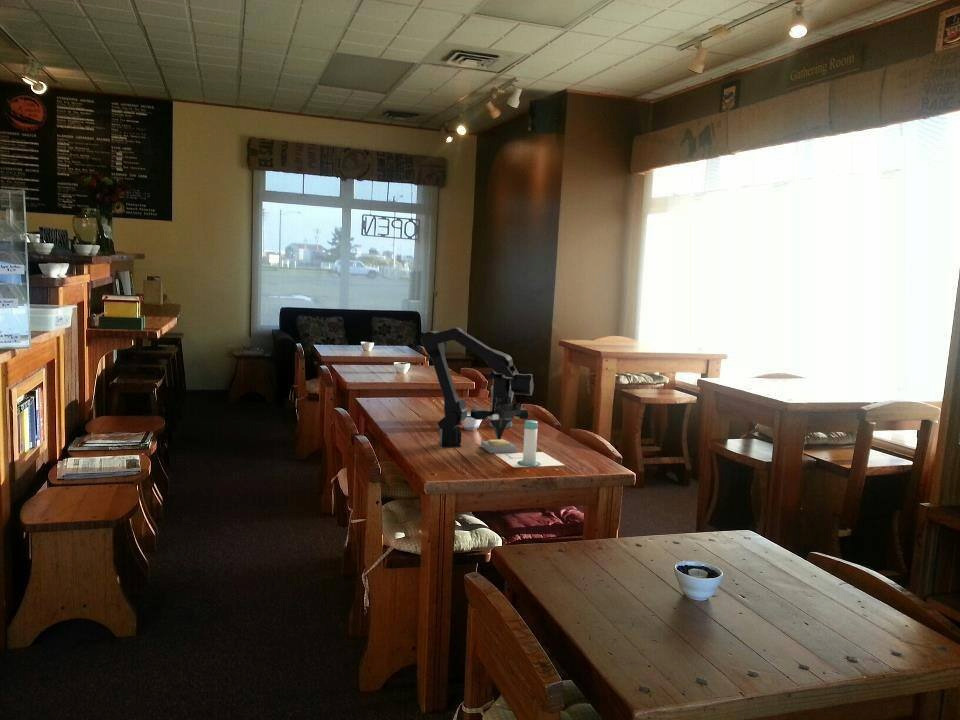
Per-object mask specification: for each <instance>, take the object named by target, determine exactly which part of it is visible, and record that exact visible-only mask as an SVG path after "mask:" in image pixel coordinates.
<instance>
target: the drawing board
mask: <svg viewBox="0 0 960 720" xmlns="http://www.w3.org/2000/svg"><path fill="white" fill-rule="evenodd" d="M494 455H495V456H497V457H498V458H499V459H501V460H503V461H504V462H505V463H507V464H508V465H510V466H511V467H513V468H530V467H531V468H533V467H554V466H555V467H557V466H565V464H564V463H562V462H560V461H559V460H557V459H556V458H553V457H552V456H551V455H548V454H547V453H545V452H543V451H536V464H533V465H527V464H523V452H512V453H494Z"/></svg>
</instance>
